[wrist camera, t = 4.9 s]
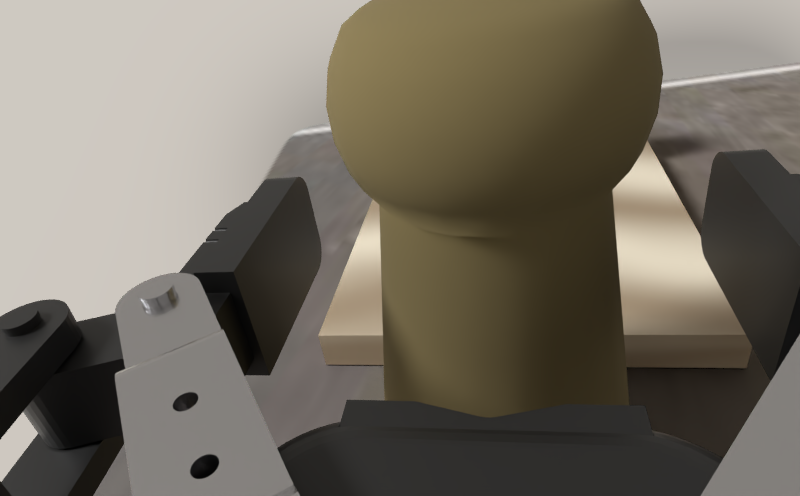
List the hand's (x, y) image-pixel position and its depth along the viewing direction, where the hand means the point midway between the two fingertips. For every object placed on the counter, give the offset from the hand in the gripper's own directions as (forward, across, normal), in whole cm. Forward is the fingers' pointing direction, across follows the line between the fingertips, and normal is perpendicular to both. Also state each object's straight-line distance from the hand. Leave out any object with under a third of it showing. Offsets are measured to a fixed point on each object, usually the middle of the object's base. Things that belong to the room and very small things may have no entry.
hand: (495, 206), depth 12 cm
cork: (-1, 0, +7) cm, 7 cm away
